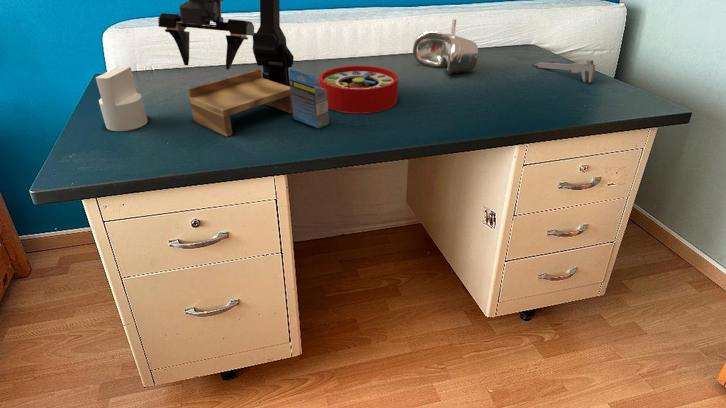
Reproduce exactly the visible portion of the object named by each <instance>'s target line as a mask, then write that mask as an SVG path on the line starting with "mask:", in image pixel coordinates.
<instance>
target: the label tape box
mask: <svg viewBox="0 0 726 408" xmlns="http://www.w3.org/2000/svg"><path fill="white" fill-rule="evenodd" d="M288 70H289V83H290V90H291V101H292V111H293V113H292V118H293V120H295V121H296V122H300V123H303V124H306V125H308V126H311V127H313V128H316V129H320V128H323V127H326V126H328V125H329V124H330V119H329V118H330V116H329V108H328V101H327V90H326V89H323V88H320V86H317V85H315V84H316V83H315V80H316V79H315V78H316V77H315V75H313V74H309V73H307V72H304V71H300V70H298V69H294V68H292V67H289V68H288ZM298 77H302V78H303V79H305V80H303V79H301V78H298Z"/></svg>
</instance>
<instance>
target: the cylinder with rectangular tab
mask: <svg viewBox="0 0 726 408" xmlns="http://www.w3.org/2000/svg"><path fill="white" fill-rule="evenodd" d="M95 81H96V85H97V88H98V92H99V95H100V98H99V99H98V105H99V107H100V112H101V114H102V115H101V116H102V118H103V122H104V125H105V128H106V129H107V130H108V131H111V132H112V131H113V132H127V131H132V130H136V129H137V130H138V129H139V128H142V127H144V126H146V124H148V121H149V120H148V116H147V112H146V108H145V104H144V100H143V96H142V94H141V93H139V92H138V91H137V88H136V83H135V79H134V76H133V71H132V67H131V66H127V65H124V66H123V65H122V66H121V65H120V66H119V65H118V66H116V67H114V68H112V69H110V70H107V71H106V72H104V73H102V74H100V75H98V76H96V77H95Z"/></svg>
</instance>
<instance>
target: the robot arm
mask: <svg viewBox="0 0 726 408" xmlns="http://www.w3.org/2000/svg"><path fill="white" fill-rule="evenodd" d="M222 3H224V0H187V1H185V2H183V3H182V4H180V5H179V6H178V8H179V9H178V10H179V14H175V13H167V12H164V13H163V12H161V13H160V14H159V16H158V18H157V19H158V20H157V25H158V26H157V27H159V28H165V29H164V32H165V33H169V34H170V36H171V37H172V38H173V40H174V42H175V43H176V46H177V49H178V51H179V53H180V56H181V59H182V62H183V65H184V66H189V63H190V31H186V29H187V28H190V29H192V28H193V29H200V30H201V29H202V30H211V31H212V30H213V31H223V32H229V34H226V35H225V39H226V54H225V55H226V57H225V69H226V70H230V69H231V67H232V64H233V62H234V60H235V57H236V56H237V53H238V51H239V49H240V47H241V45H242V44H243V42H244V40H249V37H250V36H251V37H252V48H251V49H252V53H253V55H254V59H255V62H256V65H257V66H258V67H260V66H261V67H262V72H261V75H262V78H264V79H267V80H270V81H273V82H276V83H279V84H283V85H286V86H289V87H290V81H289V68H292V67H293V65H294V59H295V58H294V55H293V53H292V52H291V50H290V49H289V48H288V46H287V37H286V35H285V33H284V32H283V30H282V28H281V24H280V23H281V21H280V20H281V19H280V17H281V15H280V14H281V13H280V6H281V4H280V0H259V27H258V29H257V31H256V32H255V26H254V24H253V22H252V21H248V20H243V19H242V20H241V19H230V18H229V19H228V20H227V21H224V17H223V16H222ZM211 22H212V23H213V24H212V23H211ZM248 36H249V37H248Z"/></svg>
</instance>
